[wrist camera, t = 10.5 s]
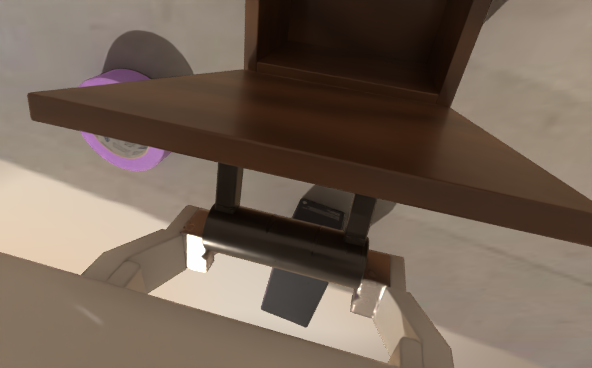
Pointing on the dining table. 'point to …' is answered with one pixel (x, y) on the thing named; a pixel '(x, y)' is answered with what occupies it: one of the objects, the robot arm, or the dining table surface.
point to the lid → (322, 161)
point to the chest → (366, 44)
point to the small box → (294, 287)
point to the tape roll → (118, 150)
